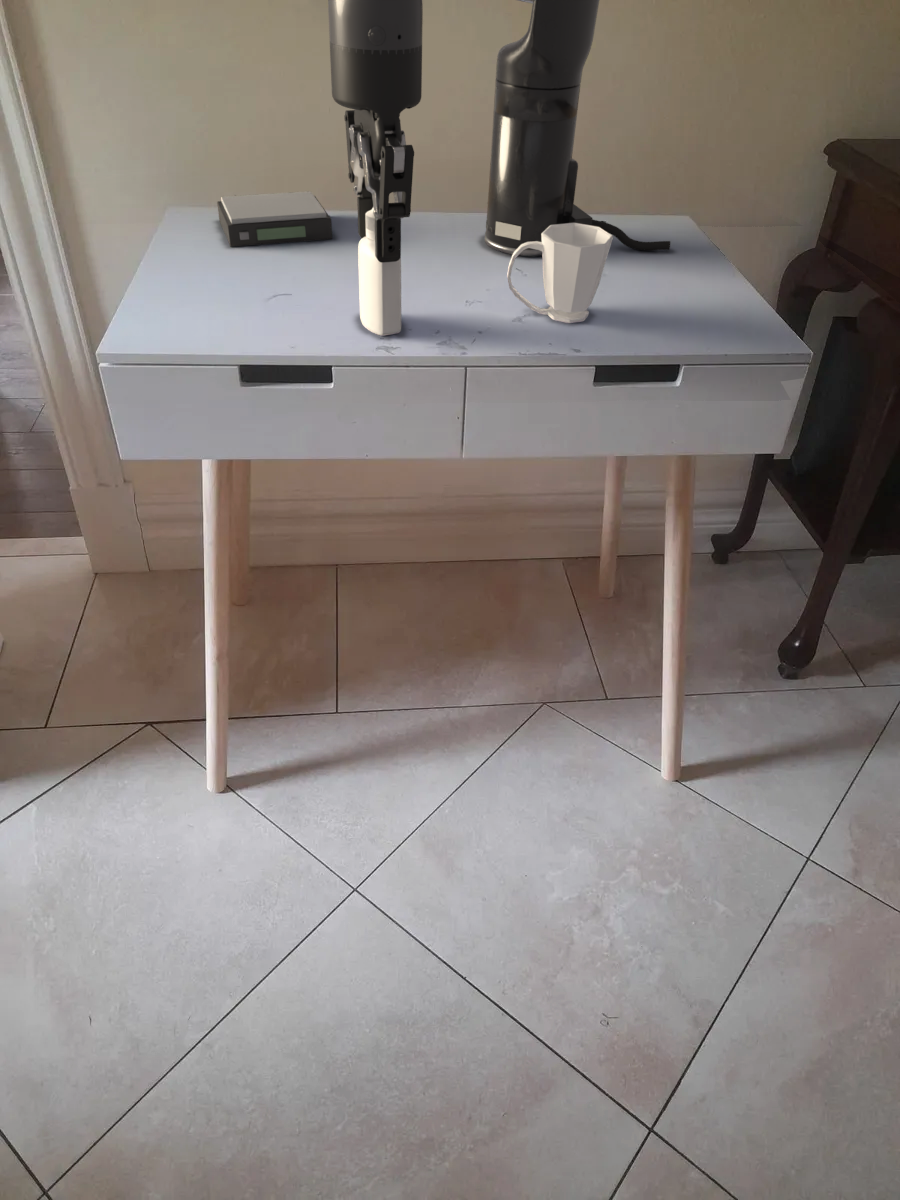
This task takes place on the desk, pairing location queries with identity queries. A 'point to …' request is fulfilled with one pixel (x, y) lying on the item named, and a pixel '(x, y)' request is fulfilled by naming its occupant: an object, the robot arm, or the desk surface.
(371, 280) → the eye dropper bottle
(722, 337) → the desk surface
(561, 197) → the robot arm
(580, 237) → the cup
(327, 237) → the scale
